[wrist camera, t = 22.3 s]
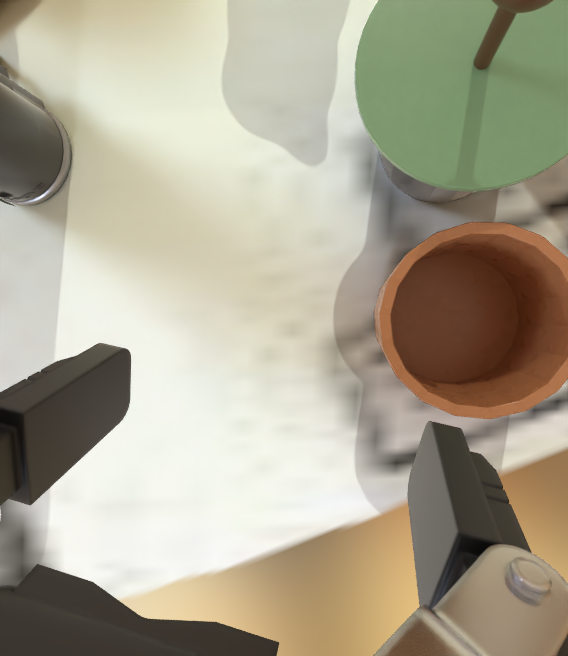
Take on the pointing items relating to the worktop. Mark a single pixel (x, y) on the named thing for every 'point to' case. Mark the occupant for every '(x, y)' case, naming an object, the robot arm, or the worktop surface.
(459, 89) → the lid
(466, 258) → the clay pot
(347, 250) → the worktop surface
